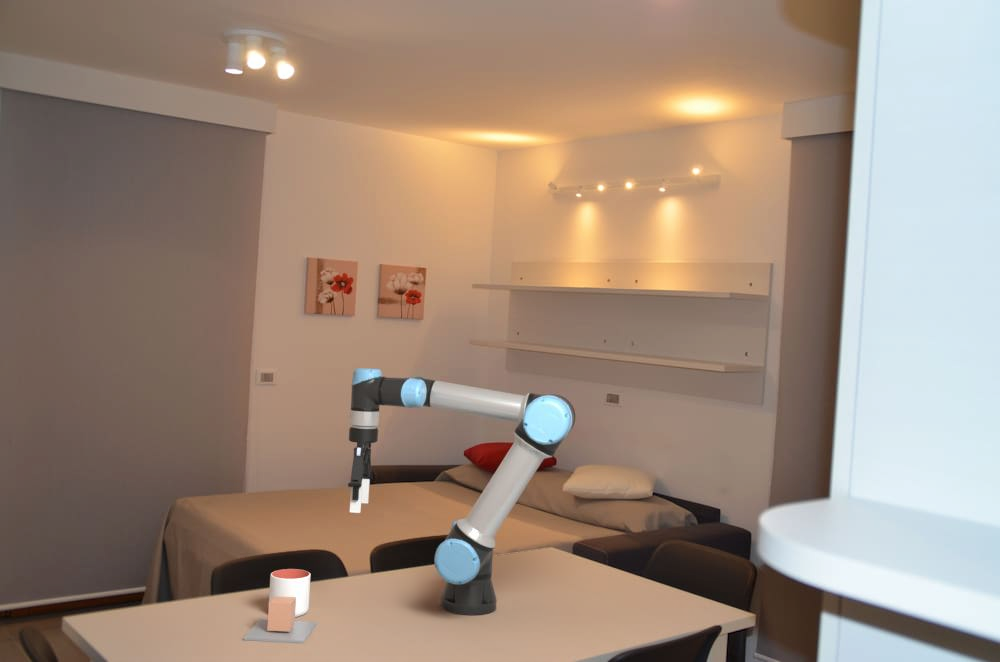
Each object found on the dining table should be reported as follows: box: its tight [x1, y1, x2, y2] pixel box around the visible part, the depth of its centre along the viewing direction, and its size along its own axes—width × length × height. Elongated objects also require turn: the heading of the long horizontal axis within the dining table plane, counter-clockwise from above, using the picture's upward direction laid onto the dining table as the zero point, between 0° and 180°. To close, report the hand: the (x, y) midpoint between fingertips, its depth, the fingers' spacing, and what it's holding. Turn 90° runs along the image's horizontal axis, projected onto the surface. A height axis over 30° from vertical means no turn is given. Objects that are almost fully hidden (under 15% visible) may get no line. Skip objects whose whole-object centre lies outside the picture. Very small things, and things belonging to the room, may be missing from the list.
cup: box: [268, 568, 312, 618], centre depth 222 cm, size 10×10×10 cm
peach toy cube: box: [267, 596, 296, 632], centre depth 207 cm, size 5×5×7 cm
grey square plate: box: [243, 618, 318, 644], centre depth 207 cm, size 14×14×7 cm
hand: (359, 507), depth 228 cm, fingers open, 13 cm apart
